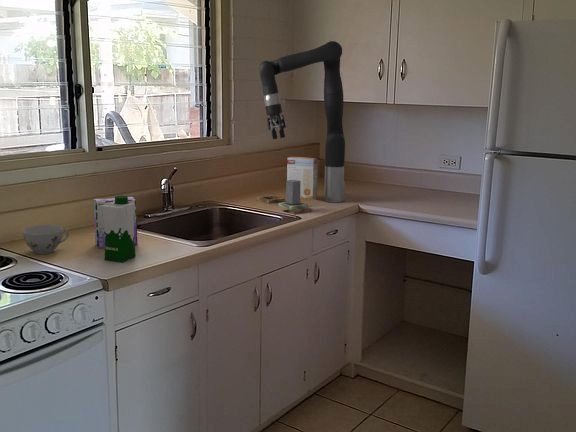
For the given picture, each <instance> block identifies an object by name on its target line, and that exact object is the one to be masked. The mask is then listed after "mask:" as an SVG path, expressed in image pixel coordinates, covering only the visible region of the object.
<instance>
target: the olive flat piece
mask: <svg viewBox="0 0 576 432" xmlns="http://www.w3.org/2000/svg"><path fill="white" fill-rule="evenodd" d="M255 201H257V202H260V203H263V204H266V205H267V204H268V205H271V206H275V207H278V208H281V209H284V210H281V212H284V213H288V214H291V215H299V214H305V213H311V212H313V211H312V207H309V204H308V203H304V202H301V201H300V205H294V206H291V205H287V204H286V197H281V196H277V195H266V196H265V195H264V196H257V197H256V199H255Z"/></svg>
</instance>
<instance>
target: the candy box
mask: <svg viewBox="0 0 576 432" xmlns="http://www.w3.org/2000/svg"><path fill="white" fill-rule="evenodd" d="M127 197H128V202H129V203H135V206H134V215H133V221H134V244H135V246H136V245H138V225H137V224H138V223H137V221H138V220H137V199H135V198H134V196H127ZM111 202H115V197H111V198H93V216H94V217H93V220H94V222H93V223H94V239H95V240H94V244H95V245H96V248H97V249H102V248H104V249H105V235H104V218H103V214H102V210H101V207H100V206H102V205H105V204H107V203H111Z"/></svg>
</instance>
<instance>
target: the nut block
mask: <svg viewBox="0 0 576 432" xmlns="http://www.w3.org/2000/svg"><path fill="white" fill-rule="evenodd" d="M285 181H286V182H285V183H286V185H285V186H286V189H285V190H286V191H285V194H286V195H285V202H286V204H287V205H291V206H294V205H300V202H301V198H300V187H301V181H298V180H287V179H286V180H285Z"/></svg>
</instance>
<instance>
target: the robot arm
mask: <svg viewBox="0 0 576 432" xmlns="http://www.w3.org/2000/svg"><path fill="white" fill-rule="evenodd" d="M342 55H343V47H342V45H341V44H340V43H339V42H337V41H334V40H330V41H328V42H326V43H325V44H322V45H320V46H319V47H315V48H313V49H309V50H306V51H301V52H296V53H292V54H289V55H286V56H281V57H278V59H274V60H270V61H269V60H263V61H261V62H260V63H259V66H258V71H259V77H260V80H261V85H262V94H263V101H264V102H263V103H264V106H265V107H264V108H265V112H266V113H265V114H266V116H269V117H267V118H266V121H267V126H268V131H269V132H271V136H272V140H277V139H278V134H279V138H280V139H285V137H286V136H285V135H286V133H285V128H286V127H287V126H286V121H285V117H284V115H283V114H282V113H283V109H282V104H281V103H282V102H281V97H280V94H279V90H278V88H279V87H278V84H277V81H276V76H277V75H279V74H281V73H287V72H290V71H295V70H297V69H301V68H304V67H306V66H309V65H313V64H317V63H322V62H323V67H324V68H323V71H324V77H323V78H324V79H323V80H324V81H323V106H324V111H325V117H326V118H325V119H326V126H327V127H326V139H325V150H324V152H325V153H324V154H325V155H324V189H323V190H324V193H323V194H324V195H323V197H324V198H323V202H326V203H342V202H345V196H346V195H345V194H346V193H345V192H346V182H345V180H344V179H345V160H346V159H345V155H346V139H345V135H344V127H343V116H344V104H345V103H344V89H343V81H342V75H341V57H342ZM277 129H278V131H279V133H277Z"/></svg>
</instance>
